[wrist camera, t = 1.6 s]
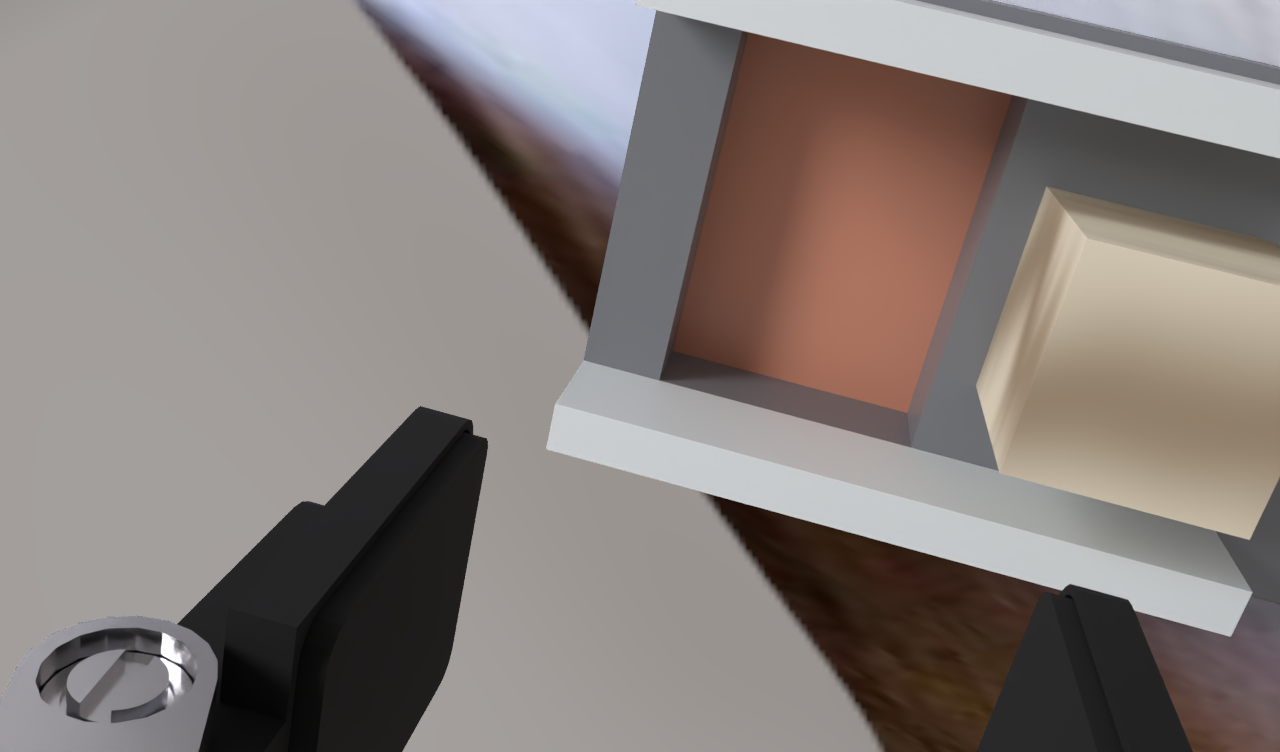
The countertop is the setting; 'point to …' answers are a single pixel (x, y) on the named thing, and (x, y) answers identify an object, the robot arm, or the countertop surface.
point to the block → (1140, 364)
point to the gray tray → (899, 270)
